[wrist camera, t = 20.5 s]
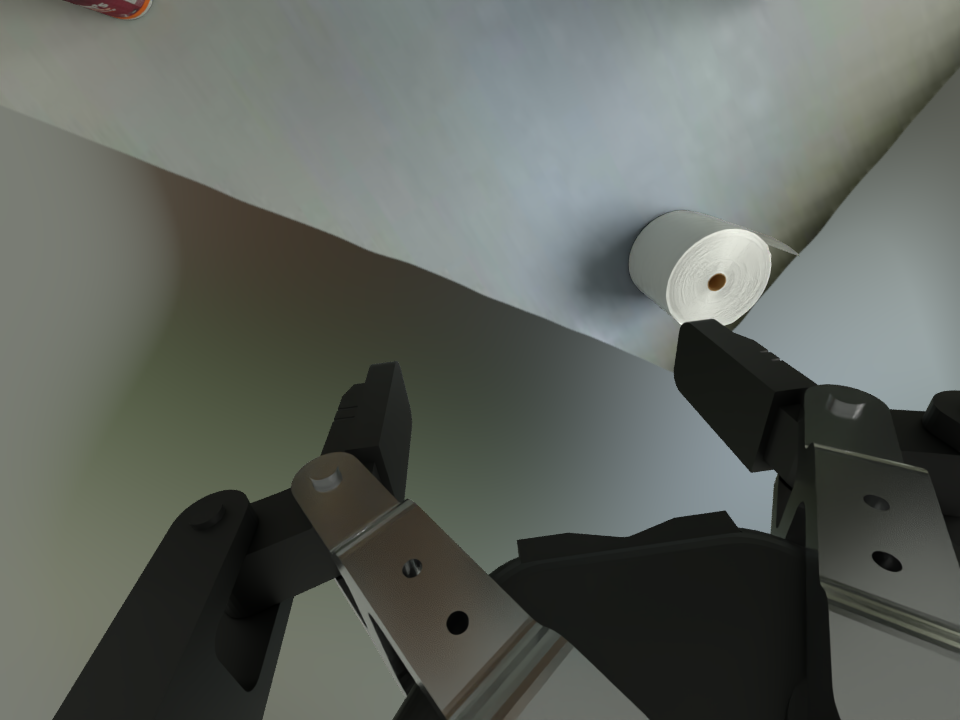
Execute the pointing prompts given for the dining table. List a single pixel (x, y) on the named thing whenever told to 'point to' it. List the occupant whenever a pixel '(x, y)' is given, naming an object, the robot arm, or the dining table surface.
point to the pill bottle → (117, 7)
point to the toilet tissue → (701, 266)
